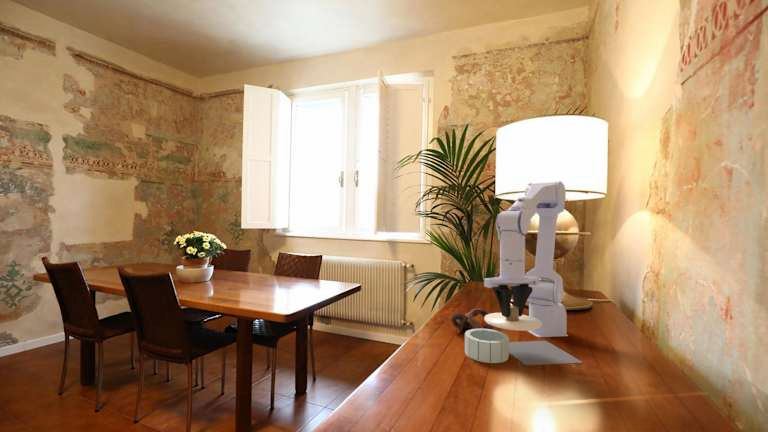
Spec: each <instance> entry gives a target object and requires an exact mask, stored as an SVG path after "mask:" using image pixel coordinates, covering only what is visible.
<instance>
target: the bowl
mask: <svg viewBox="0 0 768 432" xmlns="http://www.w3.org/2000/svg"><path fill="white" fill-rule="evenodd" d="M481 328H482V329H475V328H470V329H468V330H466V331H465V333H464V354H465V355H466V356H467V357H468V358H469V359H471V360H473V361H474V360H475V361H476V362H480V363H487V364H500V363H505V362H507V361H508V359H509V356H510V355H509V354H510V353H509V342H510V336H509V335H508V334H506V333H505V332H503V331H499V330H496V329H494V330H491V329H483V328H484V327H481Z"/></svg>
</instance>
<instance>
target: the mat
mask: <svg viewBox="0 0 768 432" xmlns="http://www.w3.org/2000/svg"><path fill="white" fill-rule="evenodd" d="M509 354H510V355H512V356H513V357H514V358H516V360H518V361H519V362H521V363H522V364H523V365H524V366H540V365H541V366H543V365H565V364H583V363H584V362H583V361H581V360H580V359H578V358H576V357H575V356H573V355H571V354H570V353H568V352H566V351H564V350H563V349H561V348H560V347H558V346H556V345H555V344H553V343H550V342H549V341H547V340H532V341H531V340H529V341H527V340H526V341H509Z"/></svg>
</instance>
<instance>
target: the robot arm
mask: <svg viewBox="0 0 768 432" xmlns="http://www.w3.org/2000/svg"><path fill="white" fill-rule="evenodd" d="M565 203H566V187H565V184H564V183H563V182H562V181H552V182H537V183H532V182H529V183H528V184H526V186H525V190H524V196H523V197H522V196H521V197H517V200H516V201H515V202H514V203H513V204H512V205H511V206H510V207H509V208H508V209H507V210H501V212H500V213H498V214H497V216H496V219H495V227H496V228H495V230H496V232H497V240H498V241H499V275H498V276H496V277H486V278H483V279H484V280H483V287H484V288H488V289H490V288H492V289H491V290H492V291H493V293H494V295H495V298H496V299H497V301H498V304H499V308H500V313H501V314H502V316H504V317H507V318H508V317H510V306H511V302H512V301H513V305H512V306H516V307H519V316H522V315H524V314H523V313H524V311H525V306H526V303H527V302H528V316H530V317H533V318H536V319H538V320H540V321H541V323H542V327H541V328H539V329H537V330H530V331H527V332H529V334H532V335H533V336H535V337H537V338H551V337H568V336H569V334H567V329H568V328H567V326H568V325H567V319H568V318H567V310H566V308H565V306H564V305H563V304H562V303H561V302H562V301H563V298H564V284H563V282H564V280H563V278H562V276H561V275H560V274H559V273H558V272H556V271H555V270H554V262H555V261H554V258H555V257H554V256H555V245H556V236H557V235H556V233H557V222H558V221H557V220H558V217H559V214H561V213H563V212H564V211H565V205H566V204H565ZM536 214H537V215H538V216H539V218H538V227H537V228H538V229H537V240H536V252H535V263H534V267H533V268H532V269H530V270H529V271H527V272H526V235H527V234H528V232H529V230H530V224H531V220H532V219H533V217H534V216H535V215H536Z"/></svg>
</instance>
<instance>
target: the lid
mask: <svg viewBox="0 0 768 432" xmlns="http://www.w3.org/2000/svg"><path fill="white" fill-rule="evenodd" d="M483 319H484V320H483V321H484V322H485V323H486V324H487V325H492V326H494V328H499V329H503V330H508V331H517V332H518V331H522V332H523V331H525V332H528V331H530V330H537V329H539V328H541V327H542V323H541V321H540V320H538V319H536V318H533V317H530V316H529V315H526V314H522V316H519V307H516V306H513V305H510V317H508V318H507V317H504V316H502V314H501V312H493V313H492V312H491V313H489V314H487V315H485V317H484V318H483Z"/></svg>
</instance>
